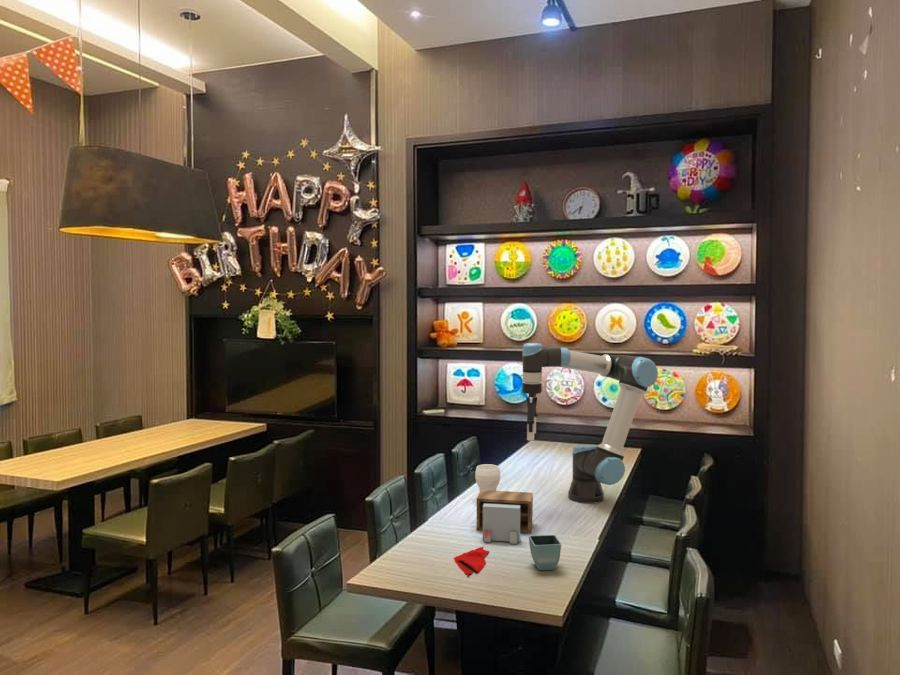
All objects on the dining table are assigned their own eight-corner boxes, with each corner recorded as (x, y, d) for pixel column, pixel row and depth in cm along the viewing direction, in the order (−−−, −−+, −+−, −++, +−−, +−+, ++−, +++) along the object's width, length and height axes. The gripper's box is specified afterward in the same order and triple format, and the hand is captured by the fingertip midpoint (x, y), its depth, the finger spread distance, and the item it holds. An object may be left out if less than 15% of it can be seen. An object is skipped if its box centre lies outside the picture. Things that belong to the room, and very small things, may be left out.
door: (482, 539, 233) (482, 506, 232) (484, 535, 237) (484, 502, 236) (519, 542, 231) (519, 508, 230) (520, 537, 235) (520, 504, 234)
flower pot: (528, 562, 214) (528, 535, 213) (554, 561, 215) (555, 534, 214) (533, 573, 205) (534, 545, 205) (561, 572, 206) (561, 544, 205)
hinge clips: (519, 532, 241) (519, 520, 240) (516, 544, 229) (516, 532, 229) (488, 531, 243) (488, 519, 242) (484, 542, 231) (484, 530, 231)
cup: (498, 506, 271) (498, 470, 270) (473, 505, 273) (473, 469, 272) (501, 499, 282) (502, 464, 281) (477, 497, 284) (477, 463, 283)
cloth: (469, 546, 230) (469, 539, 230) (506, 552, 224) (506, 546, 224) (436, 574, 206) (436, 567, 206) (477, 582, 200) (477, 574, 200)
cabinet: (532, 523, 251) (532, 492, 250) (530, 533, 240) (531, 501, 239) (480, 520, 254) (480, 489, 254) (476, 530, 243) (476, 498, 243)
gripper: (524, 378, 269) (524, 430, 270) (520, 386, 245) (519, 443, 246) (542, 379, 268) (542, 430, 269) (540, 387, 243) (539, 443, 245)
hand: (531, 436), depth 257 cm, fingers open, 13 cm apart
